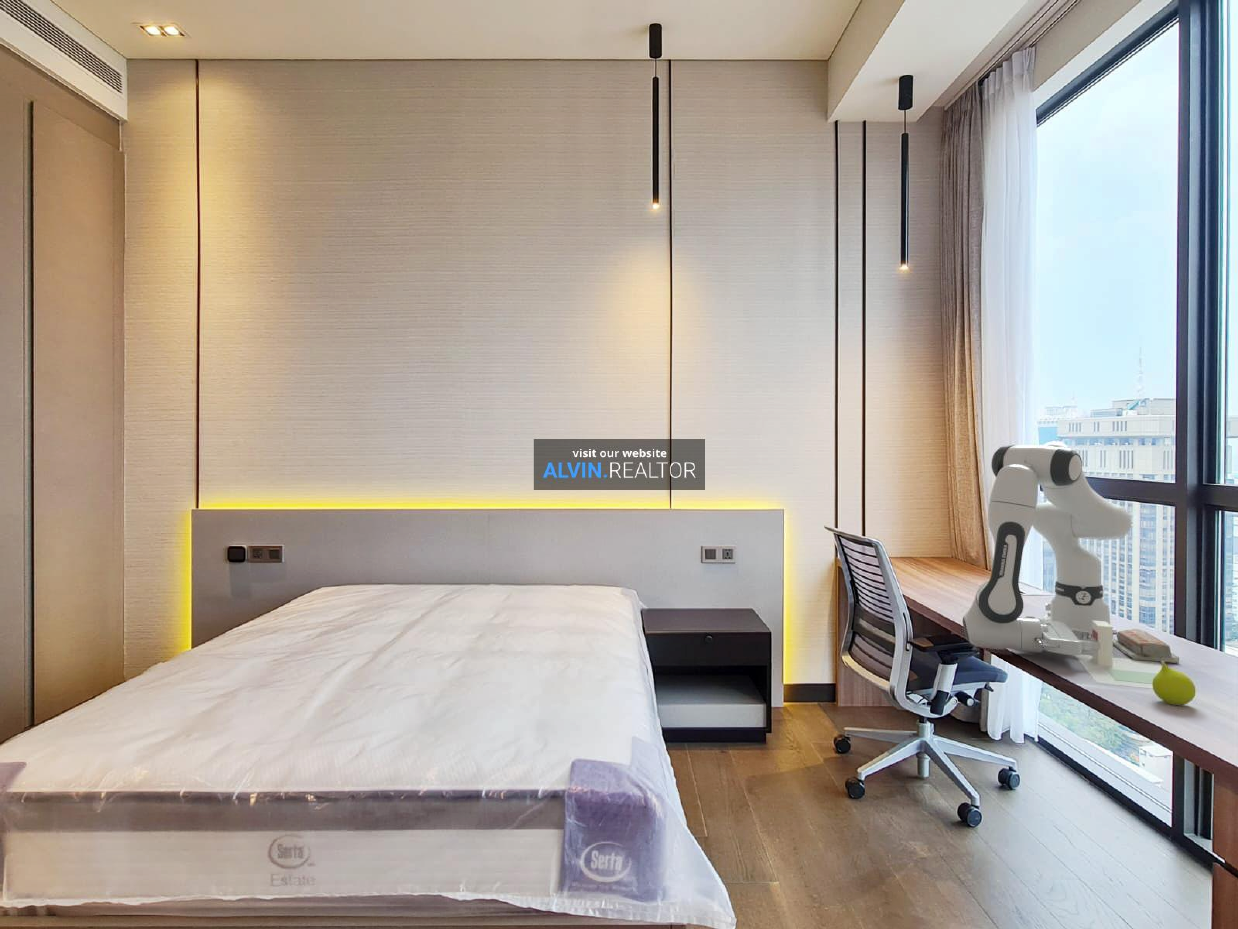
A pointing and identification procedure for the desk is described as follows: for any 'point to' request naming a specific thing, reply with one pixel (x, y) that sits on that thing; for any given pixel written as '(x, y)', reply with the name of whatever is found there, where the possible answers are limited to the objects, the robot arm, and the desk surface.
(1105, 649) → the card box
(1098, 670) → the mat
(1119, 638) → the packaged product
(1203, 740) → the desk surface
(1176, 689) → the yellow-green rounded piece
